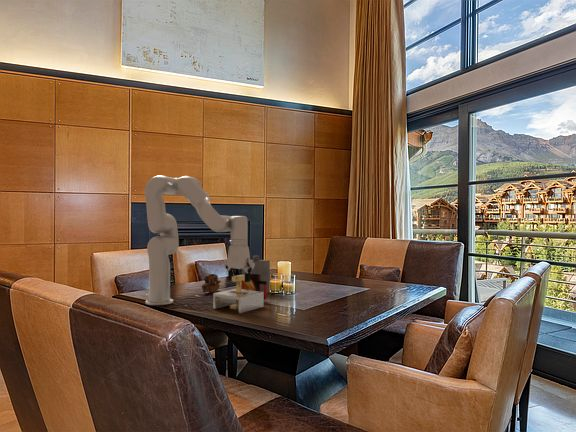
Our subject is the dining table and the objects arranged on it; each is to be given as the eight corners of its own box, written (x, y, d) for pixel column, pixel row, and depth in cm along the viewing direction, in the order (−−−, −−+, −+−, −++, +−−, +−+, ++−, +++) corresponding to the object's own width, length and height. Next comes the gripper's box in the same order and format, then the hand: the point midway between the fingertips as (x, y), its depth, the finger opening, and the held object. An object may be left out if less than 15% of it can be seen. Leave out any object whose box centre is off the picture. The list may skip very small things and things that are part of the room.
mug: (266, 302, 202) (266, 277, 202) (238, 300, 204) (238, 276, 204) (270, 298, 211) (270, 274, 211) (243, 297, 213) (244, 273, 214)
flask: (241, 293, 224) (241, 256, 224) (242, 291, 229) (243, 255, 230) (269, 293, 223) (269, 256, 223) (269, 291, 229) (270, 255, 229)
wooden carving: (208, 295, 218) (208, 276, 218) (200, 294, 219) (200, 275, 219) (222, 290, 234) (222, 272, 234) (214, 289, 235) (214, 271, 235)
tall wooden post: (229, 308, 186) (230, 276, 186) (241, 305, 193) (241, 274, 193) (235, 309, 184) (235, 277, 184) (247, 306, 191) (247, 275, 191)
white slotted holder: (213, 308, 186) (213, 293, 186) (236, 302, 200) (236, 288, 200) (240, 313, 177) (240, 297, 177) (263, 306, 191) (263, 291, 191)
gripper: (219, 242, 190) (219, 280, 190) (248, 244, 181) (248, 283, 181) (230, 242, 197) (230, 278, 197) (259, 243, 187) (259, 281, 187)
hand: (239, 281), depth 189 cm, fingers open, 9 cm apart
